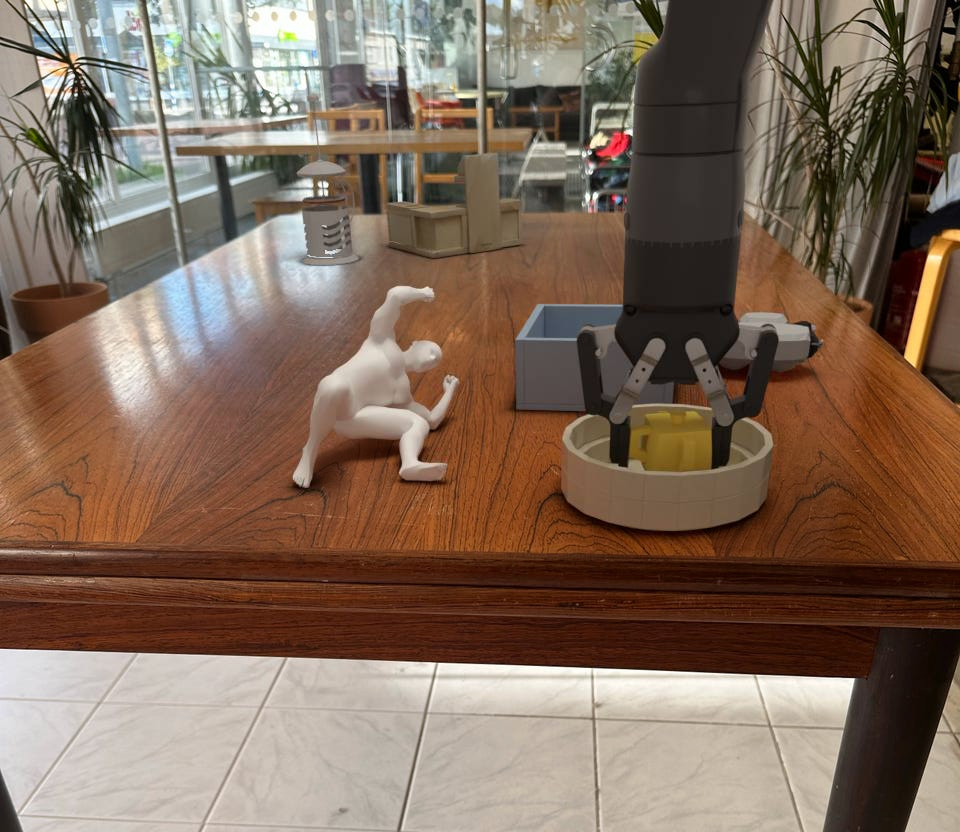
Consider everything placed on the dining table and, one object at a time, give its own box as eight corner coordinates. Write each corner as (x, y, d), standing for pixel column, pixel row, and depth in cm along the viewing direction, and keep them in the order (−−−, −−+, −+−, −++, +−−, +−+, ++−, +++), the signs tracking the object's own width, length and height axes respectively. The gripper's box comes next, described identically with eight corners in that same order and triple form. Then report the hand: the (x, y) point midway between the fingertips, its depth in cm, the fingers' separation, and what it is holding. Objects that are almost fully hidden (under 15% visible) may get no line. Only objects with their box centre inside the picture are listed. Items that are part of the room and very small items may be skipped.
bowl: (759, 460, 77) (766, 406, 74) (771, 541, 64) (780, 479, 62) (573, 453, 80) (574, 401, 77) (550, 529, 67) (550, 470, 64)
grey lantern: (290, 262, 161) (268, 94, 148) (334, 251, 170) (317, 91, 156) (333, 266, 157) (314, 93, 144) (377, 255, 165) (363, 90, 152)
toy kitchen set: (473, 235, 180) (470, 146, 172) (524, 245, 168) (523, 150, 160) (388, 247, 172) (381, 154, 164) (435, 259, 159) (430, 159, 151)
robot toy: (705, 348, 109) (692, 375, 96) (709, 307, 107) (696, 329, 94) (816, 353, 106) (818, 382, 93) (823, 311, 104) (825, 334, 91)
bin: (674, 369, 99) (679, 304, 96) (671, 414, 87) (676, 341, 84) (537, 366, 102) (537, 303, 99) (516, 409, 90) (515, 339, 86)
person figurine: (413, 354, 67) (426, 261, 81) (249, 395, 69) (288, 299, 83) (462, 503, 76) (466, 396, 89) (314, 535, 78) (340, 427, 91)
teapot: (616, 462, 74) (618, 397, 72) (688, 457, 75) (693, 393, 72) (638, 502, 68) (641, 432, 65) (717, 496, 68) (724, 427, 65)
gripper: (791, 217, 64) (763, 453, 72) (579, 221, 66) (576, 449, 75) (802, 235, 57) (770, 491, 66) (567, 239, 60) (566, 485, 69)
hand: (667, 468), depth 71 cm, fingers closed on teapot, 6 cm apart
